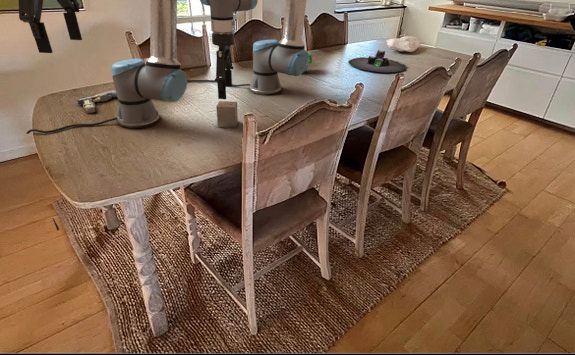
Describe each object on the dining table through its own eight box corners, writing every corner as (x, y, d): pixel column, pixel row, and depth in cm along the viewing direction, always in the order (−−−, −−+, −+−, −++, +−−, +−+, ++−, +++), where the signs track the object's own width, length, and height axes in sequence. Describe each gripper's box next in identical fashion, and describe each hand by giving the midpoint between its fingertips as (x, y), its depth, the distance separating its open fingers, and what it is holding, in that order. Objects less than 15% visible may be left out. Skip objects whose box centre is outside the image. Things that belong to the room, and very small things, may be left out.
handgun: (128, 97, 156) (111, 87, 164) (86, 107, 144) (70, 97, 152) (129, 103, 157) (113, 94, 165) (88, 114, 146) (72, 103, 154)
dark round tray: (418, 67, 219) (420, 52, 215) (377, 75, 202) (379, 59, 197) (375, 58, 244) (377, 43, 239) (336, 64, 226) (337, 49, 222)
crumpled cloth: (372, 47, 255) (376, 34, 249) (400, 41, 275) (404, 29, 269) (399, 60, 243) (404, 46, 237) (427, 52, 263) (432, 40, 257)
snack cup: (305, 67, 213) (306, 49, 208) (316, 72, 206) (318, 53, 200) (283, 70, 206) (283, 52, 200) (293, 75, 198) (294, 56, 193)
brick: (235, 127, 140) (234, 107, 136) (217, 127, 140) (216, 106, 136) (237, 121, 145) (237, 101, 141) (220, 121, 145) (219, 101, 141)
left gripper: (11, -57, 68) (48, 59, 79) (79, -56, 89) (100, 35, 100) (-29, -58, 68) (13, 58, 79) (48, -57, 89) (73, 34, 100)
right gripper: (227, 40, 114) (230, 104, 125) (238, 26, 135) (240, 82, 146) (203, 39, 114) (208, 103, 125) (218, 25, 135) (221, 81, 146)
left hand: (62, 45), depth 90 cm, fingers open, 13 cm apart
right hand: (225, 92), depth 136 cm, fingers open, 13 cm apart
